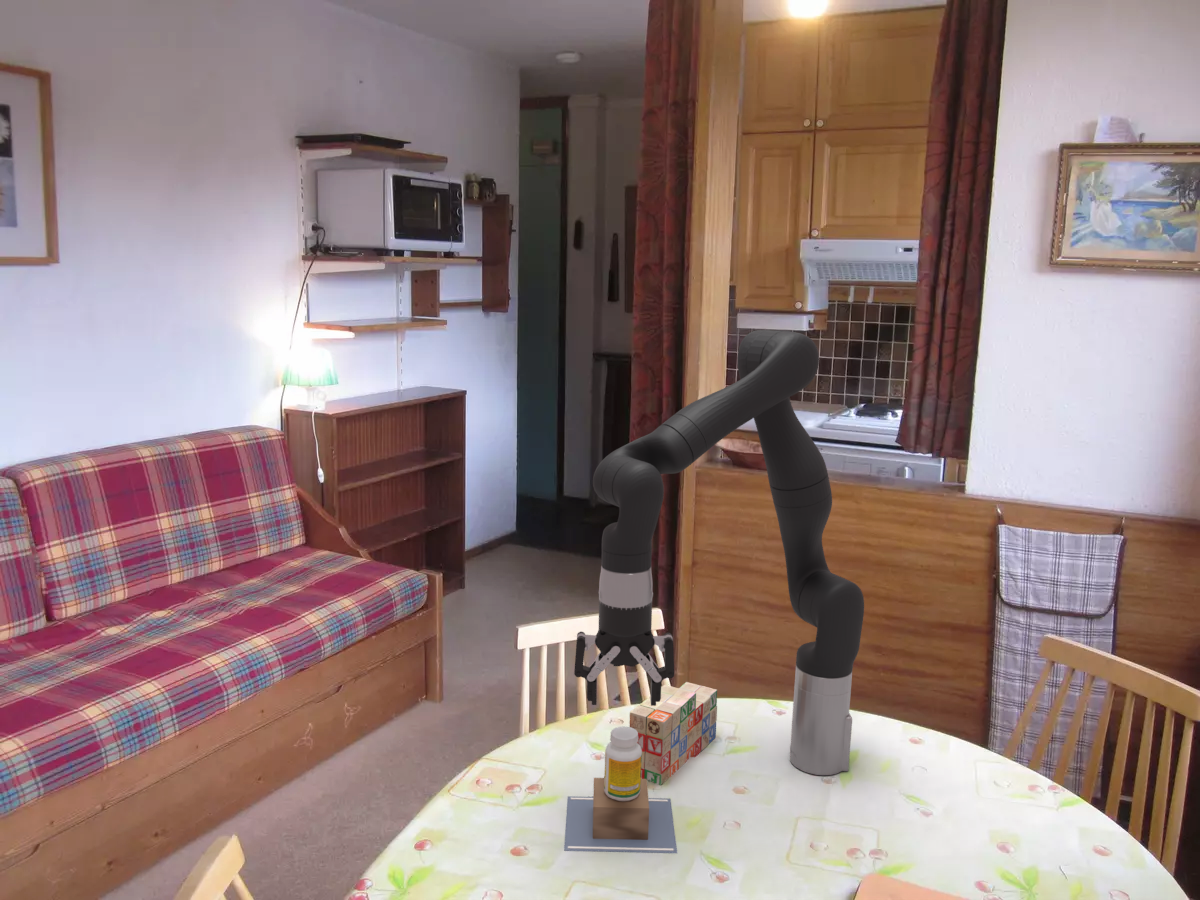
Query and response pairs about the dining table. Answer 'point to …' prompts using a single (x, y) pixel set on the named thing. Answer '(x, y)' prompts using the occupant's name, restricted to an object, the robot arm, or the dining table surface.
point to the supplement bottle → (623, 765)
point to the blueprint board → (582, 839)
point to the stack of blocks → (674, 728)
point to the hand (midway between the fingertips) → (623, 703)
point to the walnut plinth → (620, 814)
